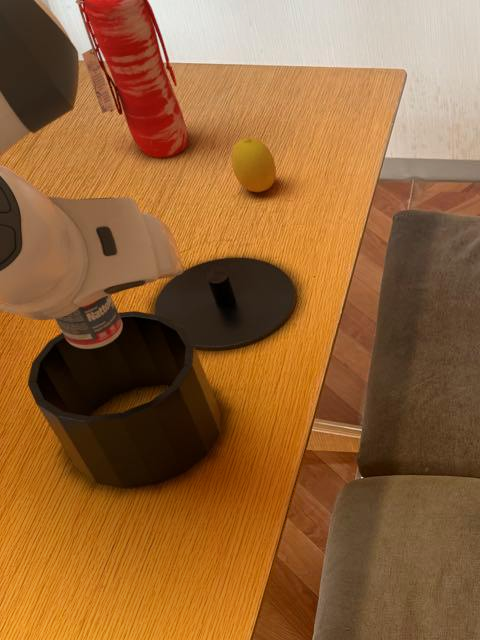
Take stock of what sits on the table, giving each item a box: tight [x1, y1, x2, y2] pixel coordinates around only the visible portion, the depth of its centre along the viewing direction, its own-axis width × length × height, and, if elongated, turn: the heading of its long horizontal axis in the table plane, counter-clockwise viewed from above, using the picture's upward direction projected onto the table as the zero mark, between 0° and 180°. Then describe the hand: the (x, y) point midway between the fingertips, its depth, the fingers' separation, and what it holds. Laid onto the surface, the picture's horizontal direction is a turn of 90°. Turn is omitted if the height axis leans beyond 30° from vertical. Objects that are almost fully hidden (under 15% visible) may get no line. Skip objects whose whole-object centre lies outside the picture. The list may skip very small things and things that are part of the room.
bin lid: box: [154, 256, 297, 352], centre depth 108 cm, size 17×17×5 cm
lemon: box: [231, 136, 277, 193], centre depth 120 cm, size 6×6×8 cm
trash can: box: [27, 310, 221, 489], centre depth 93 cm, size 16×16×10 cm
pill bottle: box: [54, 294, 123, 349], centre depth 82 cm, size 5×5×9 cm
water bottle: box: [75, 0, 188, 159], centre depth 119 cm, size 12×8×25 cm, turn 93°
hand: (74, 286), depth 82 cm, fingers closed on pill bottle, 5 cm apart
